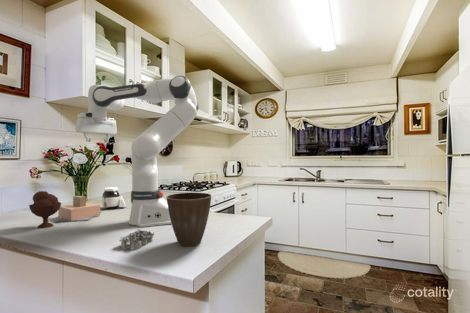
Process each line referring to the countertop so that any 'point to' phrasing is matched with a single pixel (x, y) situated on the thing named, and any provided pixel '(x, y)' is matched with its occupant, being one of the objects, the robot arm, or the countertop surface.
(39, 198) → the ice cream bowl
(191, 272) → the countertop surface
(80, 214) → the cover
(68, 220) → the mat
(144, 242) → the egg carton
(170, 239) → the countertop surface
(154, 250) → the countertop surface
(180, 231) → the plant pot
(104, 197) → the spread jar
